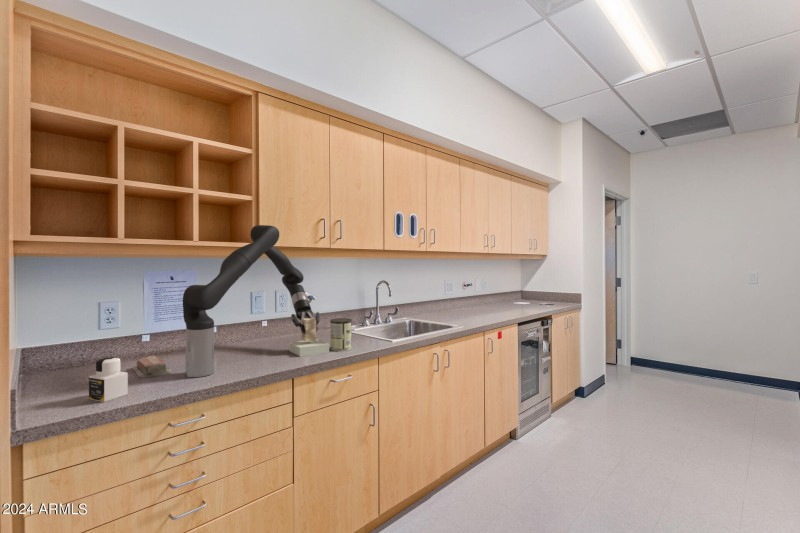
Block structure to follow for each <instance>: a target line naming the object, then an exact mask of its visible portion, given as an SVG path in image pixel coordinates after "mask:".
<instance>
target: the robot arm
mask: <svg viewBox="0 0 800 533" xmlns="http://www.w3.org/2000/svg"><path fill="white" fill-rule="evenodd" d="M249 234H250V239H251V241H252V242H250V243H248V244H246V245H243V246H241V247H239V248H236V249H235V250H234V251H232V252H231V253H229V255H228V256H226V258H224V260H223V261H222V263H221V265H220V269H219V273H218V274H217V276H215V277H214V279H212V280H211V281H210V282H209V283H207V284H192V285H189V286H187V287H186V289H184V292H183V294H182V295H183V296H182V311H183V312H182V313H183V316H182V317H183V321H184V323H185V327H186V328H185V330H186V333H185V334H186V336H185V337H186V339H185V341H186V343H185V344H186V347H185V353H184V354H185V375H186V377H187V378H201V377H208V376H210V375H212V374H214V373H215V321H214V319H213V318H212V317H210V316H209V315H208V313H207V311H208V310H209V311H210V310H212V309H214V308H215V307H216V306H217V305H218V304H219V302H221V300H222V299H223V297H224V296H225V295H226V294H227V292H228V290H230V288H231V287H232V286H234V284H235V283H237V281H238V280H239V279H240V278H241V277H242V276H243V275H244V274H245V273H246V272H247V271H248V270H249V269H250V268H251V267H252V265H254V263H256V261H258V260H259V259H260V257H262V256H263V255H265V256H266V257H267V258H268V259H270V261H271V262H272V263H273V265H274V267H275V268H276V269H277V270H278V272H279V273H280V275H282V278H281V282H282V284H283V285H284V286H285V288H286V289H287V290H288V292H289V295H290V298H291V302H292V306H293V309H294V312H295V313H291V315H290V320H291V322H292V323H293V324H294V326H295V327H296V328H300V331H301V334H302V333H303V334H305V332H306V330H305V327H304V325H303V319H304V318H314V319H316V333H317V332H318V330H319V328H318V325H319V323H320V312H318V311H317V312H313V310H312V307H311V305H310V301H309V298H308V296H307V294H306V291H305V288H304V286H303V285H301V283H303V282H304V275H303V273H302V271H300V270H299V269H298V268H296V267H295V265H293V264H292V262H291V260H290V259H289V257H288V256H287V255H286V254H284V252H282V251H281V250H279V249H278V248H277V247H276V246H275V245H276V244H277V243H278V241H279V239H280V230H279V229H278V228H277V227H276V226H273V225H267V224H266V225H265V224H259V225H258V224H257V225H254V226H253V227H252V228H251V230H250V233H249ZM273 246H274V247H273Z"/></svg>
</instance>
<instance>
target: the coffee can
mask: <svg viewBox="0 0 800 533" xmlns="http://www.w3.org/2000/svg"><path fill="white" fill-rule="evenodd" d="M352 321H353V319H352V318H345V317H342V318H341V317H340V318H331V319H330V320H329V322H330V347H329V350H331V351H333V350H334V351H335V352H345V351H350V350H351V349H352V348H353V346H352ZM334 351H333V352H334Z"/></svg>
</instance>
